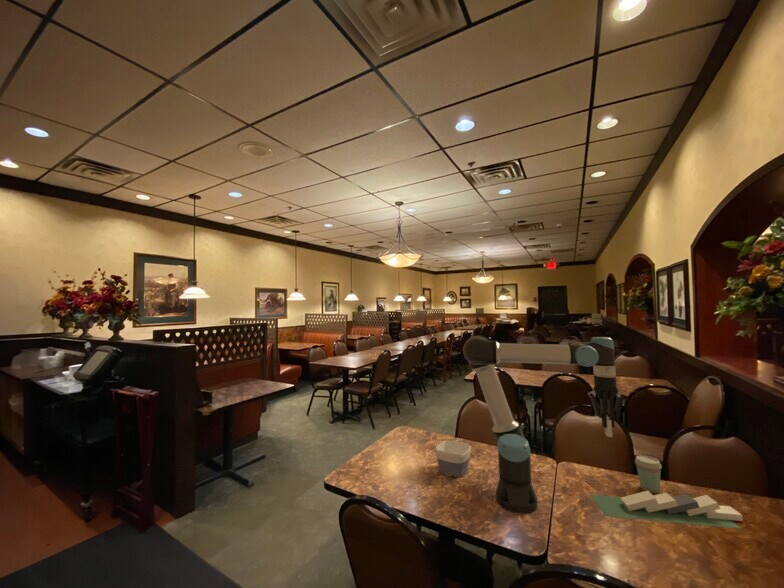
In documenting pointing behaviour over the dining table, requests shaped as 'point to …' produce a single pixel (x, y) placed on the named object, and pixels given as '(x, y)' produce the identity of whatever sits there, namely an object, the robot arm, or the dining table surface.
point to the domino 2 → (662, 503)
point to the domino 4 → (724, 514)
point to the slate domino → (682, 504)
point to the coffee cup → (649, 473)
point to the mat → (655, 513)
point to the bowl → (453, 457)
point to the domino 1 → (639, 500)
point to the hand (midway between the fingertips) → (608, 435)
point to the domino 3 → (703, 505)
